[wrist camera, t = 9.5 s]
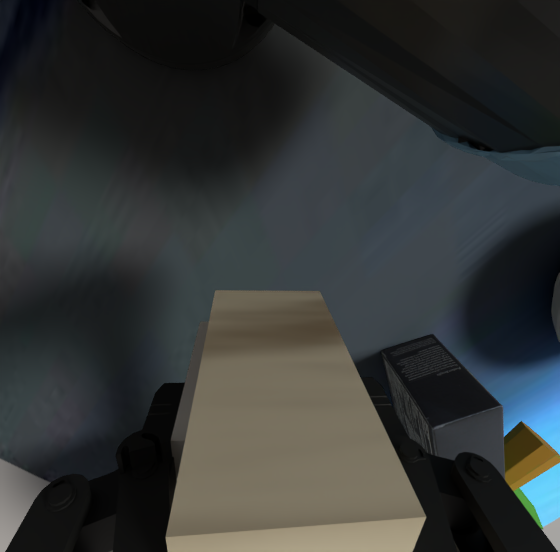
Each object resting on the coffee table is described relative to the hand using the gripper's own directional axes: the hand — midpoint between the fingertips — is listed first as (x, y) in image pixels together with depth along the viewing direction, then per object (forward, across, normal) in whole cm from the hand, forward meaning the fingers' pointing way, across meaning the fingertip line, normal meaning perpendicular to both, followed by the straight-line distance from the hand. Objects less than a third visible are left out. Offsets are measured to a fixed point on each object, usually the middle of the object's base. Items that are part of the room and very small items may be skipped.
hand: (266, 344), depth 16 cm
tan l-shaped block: (0, 0, -8) cm, 8 cm away
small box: (+14, +19, -15) cm, 28 cm away
